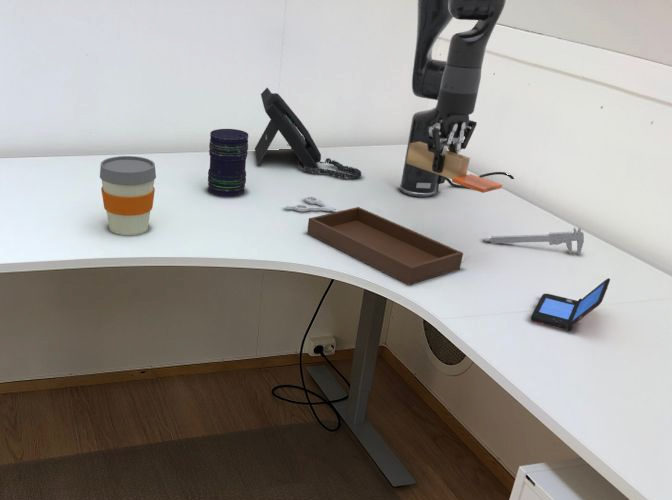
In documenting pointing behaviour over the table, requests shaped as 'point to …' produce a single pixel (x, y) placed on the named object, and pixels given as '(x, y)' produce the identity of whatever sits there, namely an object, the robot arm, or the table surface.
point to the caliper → (544, 239)
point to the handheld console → (567, 308)
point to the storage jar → (227, 162)
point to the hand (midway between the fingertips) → (442, 170)
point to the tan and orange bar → (449, 167)
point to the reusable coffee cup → (128, 193)
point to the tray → (385, 245)
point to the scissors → (306, 208)
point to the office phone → (294, 137)
